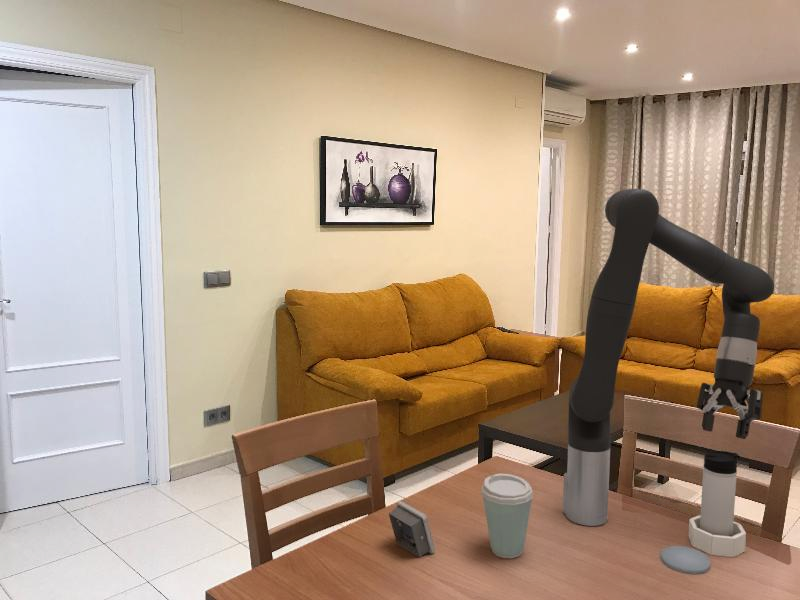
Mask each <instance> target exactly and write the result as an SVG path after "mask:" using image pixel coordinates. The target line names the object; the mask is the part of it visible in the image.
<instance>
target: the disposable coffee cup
mask: <svg viewBox="0 0 800 600" xmlns="http://www.w3.org/2000/svg"><path fill="white" fill-rule="evenodd" d="M532 487H533V486H531V485H530V483H529V482H527V481H526V480H525V479H524V478H522V477H520V476H517V475H514V474H509V473H495V474H491V475H489V476H488V477H486V478H485V479H484V481H483V483H482V485H481V489H480V490H481V491H480V495H481V496H482V500H483V504H484V510H485V518H486V525H487V531H488V537H489V542H490V543H489V544H490V545H489V546H490V549H491V551H492V553H493V554H494V555H495V556H497V557H500V558H502V559H515V558H519V557H520V556H521V555H522V554H523V551H524V549H525V545H526V544H525V543H526V536H527V530H528V525H529V524H528V523H529V519H530V513H531V506H532V501H533V500H532V499H533V498H534V494H533V488H532Z"/></svg>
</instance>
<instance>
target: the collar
mask: <svg viewBox="0 0 800 600" xmlns="http://www.w3.org/2000/svg"><path fill="white" fill-rule="evenodd" d="M700 515H701V514H699V515H697V516H694V517H691V518H689V523H688V539H689V542H690V543H691V546H692V547H694V549H695V548H696V549H698V550H699V551H701V552H702V551H703V552H704V553H707V554H708V555H710V556H718V557H727V558H735V557H737V556H739V555H741V554H744V553H745V552H746V543H747V541H746V540H747V532H746V531H745V529H744V528H743V525H741V523H739V522H737V521H735V520H734V521H733V536H732V537H730V536H720V535H712V534H710V533H708V532H706V531H703V530H701V529H700ZM743 552H744V553H743Z"/></svg>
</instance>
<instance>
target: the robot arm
mask: <svg viewBox="0 0 800 600" xmlns="http://www.w3.org/2000/svg"><path fill="white" fill-rule="evenodd" d="M604 214H605V217H606V220H607V221H608V223H609V224H610V225H611V226H612V227H613V228H614V233H613V240H612V245H611V248H610V253H609V255H608V257H607V260H606V262H605V264H604V266H603V268H602V269H601V271H600V273H599V275H598V277H597V278H596V281H595V284H594V286H593V290H592V293H591V297H590V301H589V306H588V312H587V316H586V317H587V318H586V325H585V326H586V327H585V340H584V341H585V342H584V356H583V360H582V364H581V368H580V370H579V374H578V376H577V377H576V378H575V379H574V380H573V381H572V383H571V384H570V386H569V392H568V395H569V396H568V421H567V423H568V424H567V425H568V426H567V427H568V428H567V429H568V430H567V431H568V432H567V433H568V435H567V436H568V438H567V439H568V441H567V465H566V466H567V468H566V469H567V470H566V472H565V473H564V474H563V484H562V485H563V489H562V490H563V491H562V513H563V514H565V516H566V517H567V520H569V521H571V522H572V523H575V524H578V525H583V526H587V527H596V526H602V525H604V524H606V523H607V522H608V509H609V508H608V507H609V492H610V491H609V490H610V489H609V487H610V486H609V485H610V462H611V459H610V458H611V440H612V437H611V411H612V409H613V406H614V399H615V389H616V381H617V374H618V369H619V368H618V366H619V362H620V359H621V356H622V353H623V350H624V347H625V343H626V341H627V337H628V333H629V330H630V326H631V323H632V319H633V315H634V310H635V305H636V303H637V296H638V291H639V287H640V282H641V279H642V278H641V277H642V273H643V267H644V262H645V259H646V256H647V251H648V248H649V245H650V244H651V245H652V246H654V247H656V248H657V249H659V250H661V251H662V252H664V253H666V254H667V255H669V256H670V257H671V258H672V259H674V260H676V261H678V263H680V264H681V265H683V266H685V267H686V268H687V269H689V270H690V271H691V272H693V273H694V274H696V275H698V276H700V277H701V278H703V279H704V280H706V281H708V282H709V283H712V284H720V285H722V289H721V302H722V312H723V323H722V325H723V326H722V330H721V336H720V340H719V344H718V347H717V352H716V358H715V364H714V371H713V378H714V382H713V384H710V383H707V382H702V383H701V385H700V389H699V394H698V398H697V403H696V409H698V410H701V411H702V412H703V415H702V424H701V427H702V430H703V431H704V432H705V431H706V432H713V429H714V423H715V415H714V414H716V413H717V411H718V410H720V409H722V408H723V407H727V408H728V407H730V408H733V410H735V411H736V413H737V415H738V417H739V419H738V420H737V427H736V432H735V437H736V439H742V440H746V438H748V436H749V433H750V432H749V431H750V427H751V422H752V421H756V420H757V421H759V420H761V418H762V412H763V411H762V410H763V400H764V392H763V391H761V390H757V389H753V388H752V389H750V386H751V385H752V384H753V382H754V381H753V380H754V375H755V374H754V373H755V367H756V362H757V361H756V360H757V356H758V355H757V354H758V341H759V340H758V339H759V335H760V328H761V319H760V318H759V317H758V316H757V315H756V314H754V313H751V304H752V303H753V304H754V303H761V302H763V301H764V302H765V301H766V300H768V299H769V298H770V297H772V295H773V293H774V290H775V284H774V281H773V279H772V277H771V276H770V275H769V274H768V272H766V271H765V270H764V269H762V268H760V267H759V266H757V265H754V264H753V263H750V262H747V261H745V260H743V259H740V258H736V257H734V256H732V255H730V254H728V253H727V252H726V251H724V250H722V248H719V246H716V245H715V244H714V243H712V242H711V241H708V240H707V239H705V238H704V237H702V236H699V235H697V234H695V233H693V232H692V231H689V230H687V229H685V228H683V227H681V226H679V225H677V224H675V223H673V222H672V221H670V220H669V219H667V218H665V217H664V216H662V215H661V214H660V206H659V202H658V199H657V197H656V196H655V195H654V194H653V193H652V192H651V191H650V190H646V189H643V188H627V189H622V190H618V191H616V192H615V193H613V194H612V195H610V196H609V198H608V199H607V201H606V204H605V209H604ZM747 399H748V401H747Z"/></svg>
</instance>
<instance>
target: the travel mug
mask: <svg viewBox="0 0 800 600" xmlns="http://www.w3.org/2000/svg"><path fill="white" fill-rule="evenodd" d="M703 457H704V458H703V466H702V468H703V471H702V482H701V483H702V484H701V503H700V514H699V515H700V529H701V530H703V531H706V532H708V533H710V534H712V535H720V536H730V537H732V536H733V521H734V522H735V520H734V519H735V502H736V492H737V491H736V488H737V475H738V474H737V473H738V471H737V469H738V460H740V455H739V454H738V453H737V452H729V451H726V450H713V451H707V452H706V453H705V454H704V456H703Z"/></svg>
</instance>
